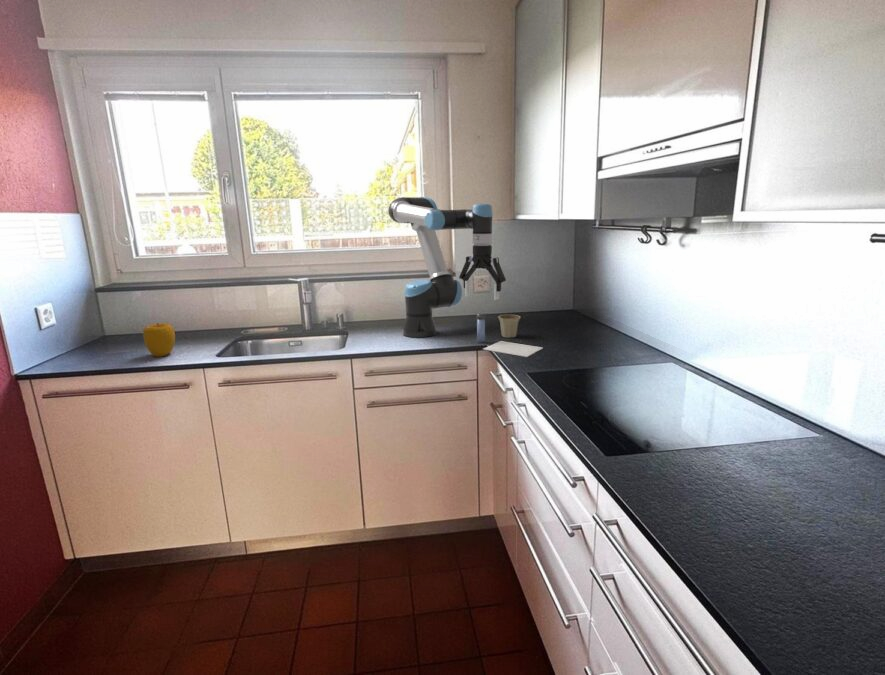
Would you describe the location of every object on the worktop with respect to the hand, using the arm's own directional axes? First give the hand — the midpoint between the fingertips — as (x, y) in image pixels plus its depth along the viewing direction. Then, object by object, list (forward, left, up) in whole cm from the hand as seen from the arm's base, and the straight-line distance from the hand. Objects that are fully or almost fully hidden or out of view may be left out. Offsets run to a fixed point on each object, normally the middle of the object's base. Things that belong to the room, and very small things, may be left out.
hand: (481, 297), depth 194 cm
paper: (+16, -2, -19) cm, 24 cm away
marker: (0, 0, -19) cm, 19 cm away
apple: (-96, -83, -19) cm, 129 cm away
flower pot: (+5, +15, -19) cm, 24 cm away
